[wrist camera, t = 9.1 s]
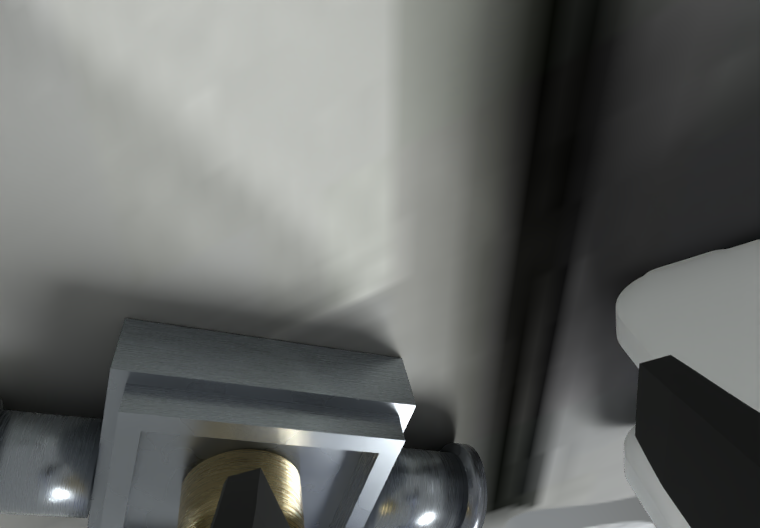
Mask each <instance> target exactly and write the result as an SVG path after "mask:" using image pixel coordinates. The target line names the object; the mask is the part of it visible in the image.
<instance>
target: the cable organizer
mask: <svg viewBox="0 0 760 528" xmlns="http://www.w3.org/2000/svg"><path fill="white" fill-rule="evenodd" d="M616 336H617V340H618V342H619V344H620V345H621V347H622V348H623V349H624V351H625V352H626V353H627V355H628V356H629V357H630V358H631V360H632V361H633V362H634V364H635V365H636V366H637V367H638V369H639V363H643V362H646V361H650V360H654V359H657V358H661V357H664V356H668V355H672V356H673V357H675V358H677V359H678V360H680V361H681V362H683V363H684V364H686V365H687V366H689V367H690V368H692V369H694V370H695V371H697V372H698V373H700V374H701V375H703V376H704V377H706V378H707V379H709V380H710V381H712V382H713V383H715V384H716V385H718V386H719V387H721V388H722V389H724V390H725V391H727V392H728V393H730V394H732V395H733V396H735V397H736V398H738V399H739V400H741V401H742V402H744V403H745V404H747V405H748V406H750V407H752V408H753V409H755V410H756V411H758V412H760V239H758V240H755V241H751V242H748V243H745V244H742V245H738V246H735V247H732V248H729V249H720V250H714V251H711V252H707V253H704V254H701V255H698V256H694V257H691V258H688V259H685V260H681V261H678V262H675V263H672V264H669V265H665V266H662V267H659V268H656V269H653V270H651V271H649V272H647V273H646V274H645V275H644V276H642V277H640V278H638V279H637V280H635V281H633V282H632V283H631V284H629V285H628V286H627V287H626V288H625V289H624V290H623V291H622V292H621V293H620V295H619V297H618V298H617V301H616ZM635 426H636V425H635ZM635 426H634V427H633V428H632V429H631V430H630V431H629V433H628V434H627V436H626V438H625V442H624V472H625V477H626V479H627V481H628V483H629V484H630V486H631V488H632V489H633V491H634V492H635V494H636V496H637V497H638V499H639V500H640V502H641V504H642V505H643V507H644V509H645V510H646V512H647V513H648V515H649V517H650V518H651V520H652V522H653V523H654V525H655V526H656V528H691V527H690V526H689V524H688V523H687V521H686V520H685V518H684V517H683V516H682V514H681V513H680V511H679V510H678V508H677V507H676V505H675V504H674V503H673V501H672V500H671V498H670V497H669V495H668V494H667V492H666V491H665V489H664V488H663V487H662V485H661V483H660V481H659V479H658V478H657V476H656V474H655V472H654V471H653V469H652V467H651V465H650V463H649V462H648V460H647V458H646V456H645V454H644V452H643V450H642V448H641V446H640V444H639V443H638V441H637V439H636V437H635Z"/></svg>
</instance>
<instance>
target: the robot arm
mask: <svg viewBox="0 0 760 528" xmlns="http://www.w3.org/2000/svg"><path fill="white" fill-rule="evenodd" d="M635 437H636V439H637V441H638V443H639V444H640V446H641V448H642V450H643V452H644V454H645V456H646V458H647V460H648V462H649V463H650V465H651V467H652V469H653V471H654V472H655V474H656V476H657V478H658V479H659V481H660V483H661V485H662V487H663V488H664V489H665V491H666V492H667V494H668V495H669V497H670V498H671V500H672V501H673V503H674V504H675V505H676V507H677V508H678V510H679V511H680V513H681V514H682V516H683V517H684V518H685V520H686V521H687V523H688V524H689V526H690V527H691V528H760V412H758V411H756V410H755V409H753V408H752V407H750V406H748V405H747V404H745V403H744V402H742V401H741V400H739V399H738V398H736V397H735V396H733V395H732V394H730V393H728V392H727V391H725V390H724V389H722V388H721V387H719V386H718V385H716V384H715V383H713V382H712V381H710V380H709V379H707V378H706V377H704V376H703V375H701V374H700V373H698V372H697V371H695V370H694V369H692V368H690V367H689V366H687V365H686V364H684V363H683V362H681V361H680V360H678V359H677V358H675V357H673V356H672V355H668V356H664V357H661V358H657V359H654V360H650V361H646V362H643V363H639V377H638V393H637V410H636V426H635ZM210 528H290V526H289V524H288V522H287V520H286V518H285V516H284V514H283V512H282V510H281V508H280V506H279V504H278V502H277V500H276V498H275V496H274V494H273V492H272V490H271V488H270V485H269V483H268V481H267V479H266V477H265V475H264V473H263V471H262V469H261V468H258V469H254V470H251V471H247V472H243V473H240V474H236V475H233V476H229V477H228V478H227V479H226V480H225V482H224V484H223V488H222V491H221V495H220V498H219V501H218V504H217V508H216V511H215V514H214V517H213V520H212V523H211V526H210Z"/></svg>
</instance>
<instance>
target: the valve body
mask: <svg viewBox="0 0 760 528" xmlns="http://www.w3.org/2000/svg"><path fill="white" fill-rule="evenodd" d="M415 407H416V403H415V400H414V396H413V393H412V390H411V386H410V383H409V380H408V377H407V373H406V370H405V367H404V363H403V360H402V358H396V357H389V356H382V355H375V354H368V353H361V352H354V351H347V350H340V349H334V348H327V347H320V346H313V345H306V344H299V343H292V342H285V341H278V340H272V339H265V338H258V337H251V336H244V335H237V334H230V333H223V332H216V331H210V330H203V329H196V328H189V327H182V326H175V325H168V324H161V323H154V322H148V321H141V320H134V319H127V318H125V321H124V324H123V328H122V331H121V334H120V338H119V341H118V344H117V348H116V351H115V354H114V358H113V361H112V364H111V368H110V374H109V381H108V388H107V395H106V402H105V409H104V416H103V419H94V418H84V417H73V416H63V415H52V414H42V413H31V412H21V411H10V410H4V409H3V401H2V399H1V398H0V514H17V515H38V516H58V517H79V518H87V516H88V514H89V511H90V514H89V521H88V528H177V525H178V514H179V504H180V494H181V487H182V483H183V481H184V479H185V477H186V475H187V474H188V473H189V472H190V471H191V470H192V469H193V468H194V467H195V466H196V465H198V464H199V463H201V462H202V461H204V460H206V459H208V458H210V457H212V456H215V455H217V454H220V453H224V452H228V451H234V450H243V449H252V450H262V451H267V452H271V453H274V454H277V455H279V456H281V457H283V458H285V459H287V460H288V461H289V462H291V463H292V464H293V465H294V466H295V468H296V469H297V471H298V473H299V476H300V482H301V493H302V504H303V515H304V526H305V528H482V526H483V523H484V519H485V514H486V507H487V484H486V477H485V472H484V467H483V464H482V461H481V459H480V457H479V455H478V453H477V452H476V451H475V449H474V448H472V447H471V446H470V445H467V444H459V443H449V444H446V445H445V446H444V447H443V448H442V449H441V450H440V452H439V451H429V450H418V449H408V448H402V447H403V445H404V443H405V437H404V433H403V432H404V430H405V428H406V426H407V424H408V422H409V420H410V418H411V416H412V414H413V411H414V409H415Z"/></svg>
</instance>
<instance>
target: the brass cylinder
mask: <svg viewBox="0 0 760 528" xmlns="http://www.w3.org/2000/svg"><path fill="white" fill-rule="evenodd" d="M258 468H261V469H262V471H263V473H264V475H265V477H266V479H267V481H268V483H269V485H270V488H271V490H272V492H273V494H274V496H275V498H276V500H277V502H278V504H279V506H280V508H281V510H282V512H283V514H284V516H285V518H286V520H287V522H288V524H289V526H290V528H305V526H304V515H303V504H302V493H301V482H300V476H299V473H298V471H297V469H296V468H295V466H294V465H293V464H292V463H291V462H289V461H288V460H287V459H285V458H283V457H281V456H279V455H277V454H274V453H271V452H267V451H262V450H252V449H243V450H234V451H228V452H224V453H220V454H217V455H215V456H212V457H210V458H208V459H206V460H204V461H202V462H201V463H199V464H198V465H196V466H195V467H194V468H193V469H192V470H191V471H190V472H189V473H188V474H187V475H186V477H185V479H184V481H183V483H182V487H181V494H180V504H179V514H178V525H177V528H210V526H211V523H212V520H213V517H214V514H215V511H216V508H217V504H218V501H219V498H220V495H221V491H222V488H223V484H224V482H225V480H226V479H227V478H228V477H229V476H233V475H236V474H240V473H243V472H247V471H251V470H254V469H258Z"/></svg>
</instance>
